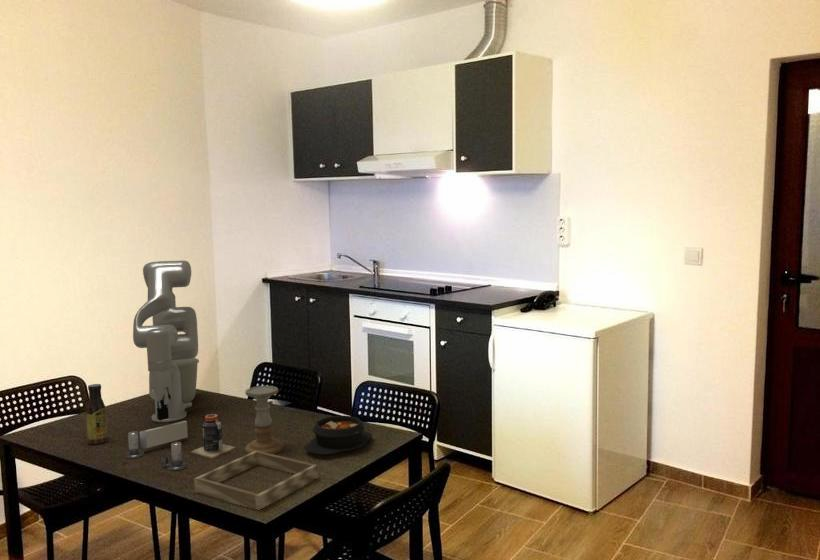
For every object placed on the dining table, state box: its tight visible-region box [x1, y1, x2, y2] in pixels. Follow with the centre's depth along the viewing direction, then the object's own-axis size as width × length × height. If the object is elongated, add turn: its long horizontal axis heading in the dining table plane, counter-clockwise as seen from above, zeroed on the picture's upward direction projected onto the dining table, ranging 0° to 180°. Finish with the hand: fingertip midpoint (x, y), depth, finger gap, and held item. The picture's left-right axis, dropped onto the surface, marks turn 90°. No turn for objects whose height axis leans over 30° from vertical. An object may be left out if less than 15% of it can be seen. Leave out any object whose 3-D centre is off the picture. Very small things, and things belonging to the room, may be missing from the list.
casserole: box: [303, 415, 373, 456], centre depth 225 cm, size 25×19×8 cm
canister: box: [172, 357, 200, 403], centre depth 279 cm, size 18×18×21 cm
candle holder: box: [244, 385, 284, 455], centre depth 223 cm, size 12×12×20 cm
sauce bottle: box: [85, 383, 108, 445], centre depth 233 cm, size 7×6×20 cm
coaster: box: [190, 443, 237, 460], centre depth 224 cm, size 10×10×1 cm
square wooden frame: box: [193, 451, 319, 511], centre depth 196 cm, size 24×24×4 cm
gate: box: [139, 420, 189, 450], centre depth 228 cm, size 16×2×6 cm, turn 134°
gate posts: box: [124, 430, 188, 472], centre depth 216 cm, size 26×6×8 cm, turn 59°
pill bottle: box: [202, 413, 223, 452], centre depth 223 cm, size 6×6×11 cm
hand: (163, 418), depth 231 cm, fingers closed
